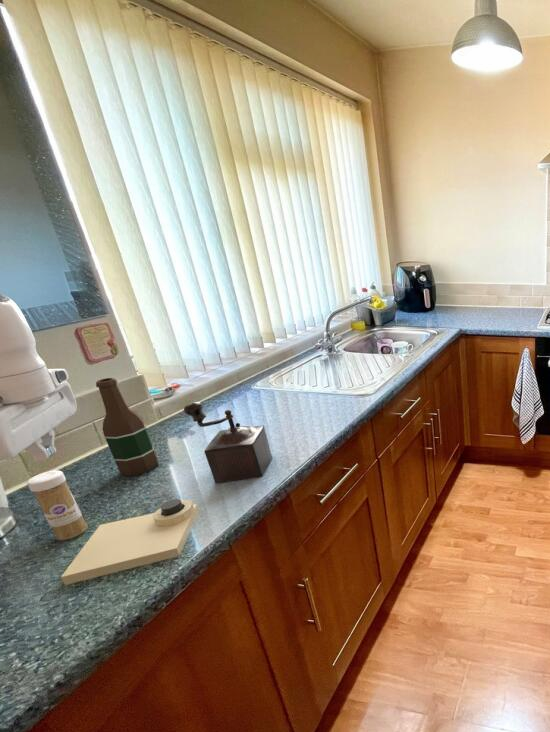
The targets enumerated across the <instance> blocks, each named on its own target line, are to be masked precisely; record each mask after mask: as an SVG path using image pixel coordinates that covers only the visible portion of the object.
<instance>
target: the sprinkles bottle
mask: <svg viewBox="0 0 550 732" xmlns="http://www.w3.org/2000/svg"><path fill="white" fill-rule="evenodd" d="M26 484H27V486H28V489H29V490H30V492H31V493H33V495H34V496H35V498H36V499H35V500H36V501H37V503H38V505H39V507H40V509H41V511H42V513H43V515H44V517H45V519H46V521H47V523H48V525H49V527H51V529H52V531H53V533H54V535H55V539H56V540H57V541H67V540H71V539H74V538H77V537H79V536H81V535H82V534H84V533H85V532H86V531H88V529H89V524H87V523H86V521H85V519H84V517H83V515H82V514H83V513H82V512H81V509H80V507H79V505H78V503H77V501H76V499H75V497H74V495H73V493H72V492H71V490H70V488H69V486H68V484H67V478H66V476H65V474H64V471H62V470H48V471H45V472H41V473H38V474H37V475H35V476H32V477H31V478H29V479H28V480H27V482H26Z"/></svg>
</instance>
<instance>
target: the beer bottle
mask: <svg viewBox="0 0 550 732" xmlns="http://www.w3.org/2000/svg"><path fill="white" fill-rule="evenodd" d="M95 386H96V388H98V390H99V393H100V396H101V400H102V402H103V406H104V409H105V416H104V418H103V421H102V433H103V437H104V438H105V442H106V444H107V445H108V448H109V451H110V454H111V456H112V457H113V460H114V462H115V464H116V467H117V469H118V471H119V473H120V475H121V476H123V477H135V476H139V475H143V474H146V473H148V472H151V471H152V470H154V469H155V468H157V467H158V466H159V458H158V455H157V452H156V449H155V446H154V444H153V441H152V438H151V436H150V433H149V430H148V428H147V425H146V422H145V421H144V418H143V416H141V415H140V414H139V412H138V411H136V410H134V409H133V408H130V406H129V405H128V404H127V402H126V400H125V398H124V396H123V393H122V392H121V390H120V388H119V385H118V380H117V379H116V378H115V377H106V378H100V379H98V380H96V381H95Z"/></svg>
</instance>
